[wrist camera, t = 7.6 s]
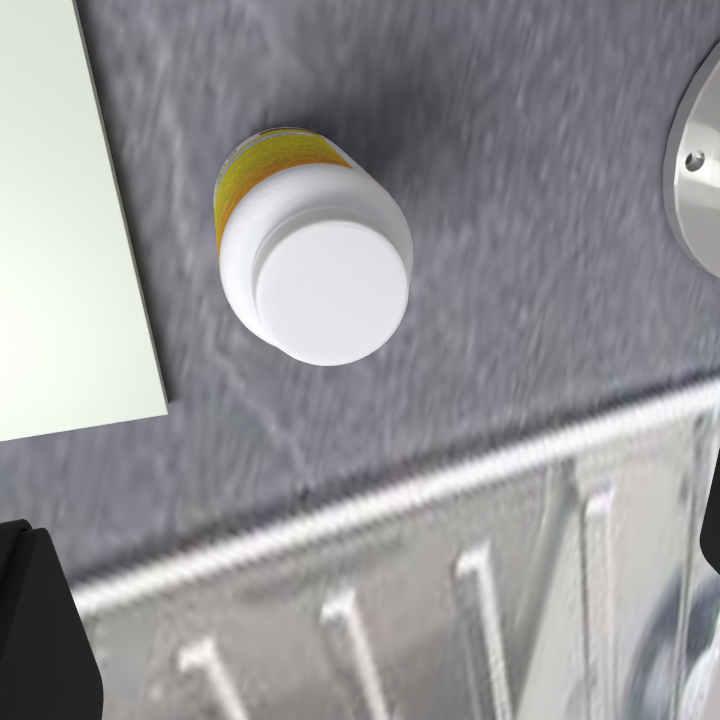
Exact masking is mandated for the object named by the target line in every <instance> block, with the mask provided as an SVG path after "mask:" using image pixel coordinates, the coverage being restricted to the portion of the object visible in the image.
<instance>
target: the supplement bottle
mask: <svg viewBox="0 0 720 720" xmlns="http://www.w3.org/2000/svg"><path fill="white" fill-rule="evenodd" d="M214 215H215V226H216V238H217V248H218V258H219V268H220V275H221V280H222V284H223V288H224V291H225V294H226V297H227V299H228V301H229V303H230V305H231V307H232V309H233V310H234V312H235V314H236V315H237V316H238V318H239V319H240V320H241V321H242V323H243V324H244V325H245V326H246V327H247V328H248V329H249V330H250V331H252V332H253V333H254V334H255V335H257V336H258V337H260V338H261V339H263V340H264V341H266V342H268V343H269V344H272V345H274V346H276V347H278V348H280V349H281V350H282V351H284V352H285V353H286V354H288V355H290V356H292V357H293V358H295V359H298V360H300V361H303V362H307V363H310V364H315V365H325V366H330V365H341V364H346V363H350V362H353V361H356V360H359V359H361V358H363V357H365V356H367V355H369V354H371V353H372V352H374V351H375V350H377V349H378V348H379V347H380V346H382V345H383V344H384V343H385V342H386V341H387V340H388V339H389V338H390V337H391V335H392V334H393V333H394V331H395V330H396V329H397V327H398V325H399V324H400V322H401V320H402V318H403V315H404V313H405V310H406V306H407V303H408V296H409V284H410V280H411V275H412V269H413V257H414V255H413V243H412V238H411V233H410V230H409V226H408V224H407V221H406V219H405V217H404V215H403V213H402V211H401V209H400V208H399V206H398V205H397V203H396V202H395V200H394V199H393V198H392V197H391V195H390V194H389V193H388V192H387V191H386V190H385V189H384V188H383V186H381V185H380V184H379V183H378V182H377V181H376V180H375V179H374V178H373V177H372V176H371V175H369V174H368V173H367V172H366V171H365V170H364V169H363V168H362V167H361V166H359V165H358V164H357V163H356V162H355V161H354V160H353V159H352V158H351V157H349V156H348V155H347V154H346V153H345V152H344V151H343V150H342V149H340V148H339V147H338V146H337V145H336V144H334V143H333V142H332V141H330V140H329V139H327V138H325V137H324V136H322V135H320V134H318V133H316V132H313V131H310V130H307V129H302V128H296V127H279V128H272V129H268V130H264V131H261V132H259V133H257V134H255V135H253V136H251V137H249V138H248V139H246V140H245V141H243V142H242V143H241V144H240V145H239V146H237V147H236V148H235V149H234V150H233V152H232V153H231V154H230V155H229V157H228V158H227V159H226V161H225V163H224V164H223V166H222V168H221V170H220V172H219V175H218V178H217V181H216V185H215V191H214Z"/></svg>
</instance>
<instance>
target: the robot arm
mask: <svg viewBox="0 0 720 720" xmlns="http://www.w3.org/2000/svg"><path fill="white" fill-rule="evenodd" d="M663 199H664V205H665V210H666V216H667V220H668V223H669V225H670V228H671V230H672V232H673V235H674V237H675V240H676V241H677V243H678V244H679V246H680V247H681V248H682V250H683V251H684V252H685V254H686V255H687V256H688V258H689V259H691V260H692V261H693V262H694V263H696V264H697V265H698V266H699V267H701V268H702V269H703V270H704V271H706V272H708V273H710V274H712V275H714V276H716V277H718V278H720V42H719V43H718V44H717V45H716V46H715V47H714V49H713V50H712V52H711V53H710V54H709V56H708V57H707V59H706V60H705V61H704V63H703V64H702V66H701V67H700V69H699V70H698V71H697V73H696V74H695V76H694V78H693V80H692V82H691V84H690V86H689V87H688V89H687V91H686V93H685V95H684V97H683V99H682V101H681V103H680V105H679V108H678V110H677V113H676V116H675V119H674V122H673V125H672V128H671V131H670V133H669V136H668V142H667V147H666V153H665V158H664V164H663ZM700 547H701V550H702V553H703V555H704V557H705V559H706V560H707V562H708V563H709V564H710V565H711V566H712V567H713V568H714V569H715V570H716V571H717V573H718V574H719V575H720V449H719V453H718V458H717V462H716V467H715V471H714V476H713V480H712V485H711V489H710V494H709V498H708V502H707V507H706V511H705V516H704V520H703V525H702V529H701V534H700ZM102 711H103V684H102V678H101V675H100V672H99V669H98V666H97V663H96V661H95V658H94V655H93V652H92V650H91V647H90V644H89V641H88V639H87V636H86V633H85V630H84V628H83V625H82V622H81V619H80V617H79V614H78V611H77V608H76V606H75V603H74V600H73V597H72V595H71V592H70V589H69V586H68V584H67V581H66V578H65V575H64V573H63V570H62V567H61V564H60V562H59V559H58V556H57V553H56V551H55V548H54V545H53V543H52V540H51V537H50V535H49V533H48V531H47V530H46V529H45V528H38V529H32V527H31V525H30V524H29V522H28V521H27V520H24V519H20V520H15V521H9V522H4V523H0V720H101V719H102Z"/></svg>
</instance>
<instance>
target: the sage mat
mask: <svg viewBox="0 0 720 720" xmlns="http://www.w3.org/2000/svg"><path fill="white" fill-rule="evenodd" d="M168 406H169V404H168V400H167V395H166V391H165V387H164V382H163V378H162V374H161V369H160V365H159V361H158V356H157V352H156V347H155V343H154V339H153V334H152V330H151V326H150V321H149V317H148V313H147V308H146V304H145V300H144V295H143V291H142V286H141V282H140V278H139V273H138V269H137V265H136V260H135V256H134V252H133V247H132V243H131V239H130V234H129V230H128V225H127V221H126V217H125V212H124V208H123V204H122V199H121V195H120V191H119V186H118V182H117V178H116V173H115V169H114V164H113V160H112V156H111V151H110V147H109V143H108V138H107V134H106V130H105V125H104V121H103V117H102V112H101V108H100V103H99V99H98V95H97V90H96V86H95V82H94V77H93V73H92V69H91V64H90V60H89V56H88V51H87V47H86V42H85V38H84V34H83V29H82V25H81V21H80V16H79V12H78V8H77V3H76V0H0V441H5V440H11V439H17V438H23V437H29V436H36V435H42V434H48V433H54V432H60V431H67V430H73V429H79V428H85V427H91V426H98V425H104V424H110V423H116V422H122V421H129V420H135V419H141V418H147V417H153V416H160V415H166V414H168Z"/></svg>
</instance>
